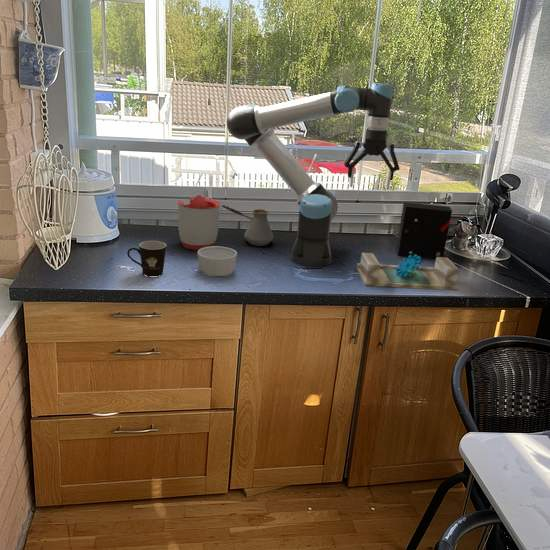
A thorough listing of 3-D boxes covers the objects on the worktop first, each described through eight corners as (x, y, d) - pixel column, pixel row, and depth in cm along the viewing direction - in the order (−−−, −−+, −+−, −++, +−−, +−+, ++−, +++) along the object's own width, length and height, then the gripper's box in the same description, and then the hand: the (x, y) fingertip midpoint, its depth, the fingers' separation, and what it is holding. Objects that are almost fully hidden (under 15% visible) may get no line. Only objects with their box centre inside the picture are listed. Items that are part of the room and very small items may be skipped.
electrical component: (438, 253, 231) (448, 205, 223) (443, 261, 221) (453, 211, 214) (395, 248, 232) (403, 200, 225) (398, 256, 222) (406, 207, 215)
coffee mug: (170, 272, 189) (171, 243, 185) (157, 280, 181) (157, 251, 178) (140, 265, 192) (140, 237, 189) (126, 274, 185) (125, 244, 181)
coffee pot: (270, 238, 232) (273, 202, 226) (274, 247, 221) (277, 210, 216) (217, 237, 228) (219, 201, 222) (220, 246, 217) (221, 208, 212)
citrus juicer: (193, 236, 227) (194, 186, 220) (226, 246, 218) (229, 195, 211) (165, 244, 215) (165, 192, 208) (199, 255, 206) (200, 202, 199)
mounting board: (364, 285, 191) (367, 265, 188) (356, 268, 206) (358, 249, 203) (457, 290, 193) (461, 270, 191) (442, 273, 208) (445, 254, 206)
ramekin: (189, 273, 189) (190, 254, 187) (208, 262, 201) (209, 243, 198) (225, 281, 185) (226, 261, 183) (242, 269, 197) (243, 250, 194)
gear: (391, 265, 202) (414, 248, 200) (400, 276, 205) (423, 259, 202) (399, 281, 193) (424, 263, 190) (408, 292, 195) (433, 275, 193)
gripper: (344, 127, 198) (337, 187, 206) (413, 132, 200) (404, 191, 208) (340, 125, 205) (334, 183, 213) (408, 130, 207) (399, 187, 215)
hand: (368, 187), depth 210 cm, fingers open, 13 cm apart
